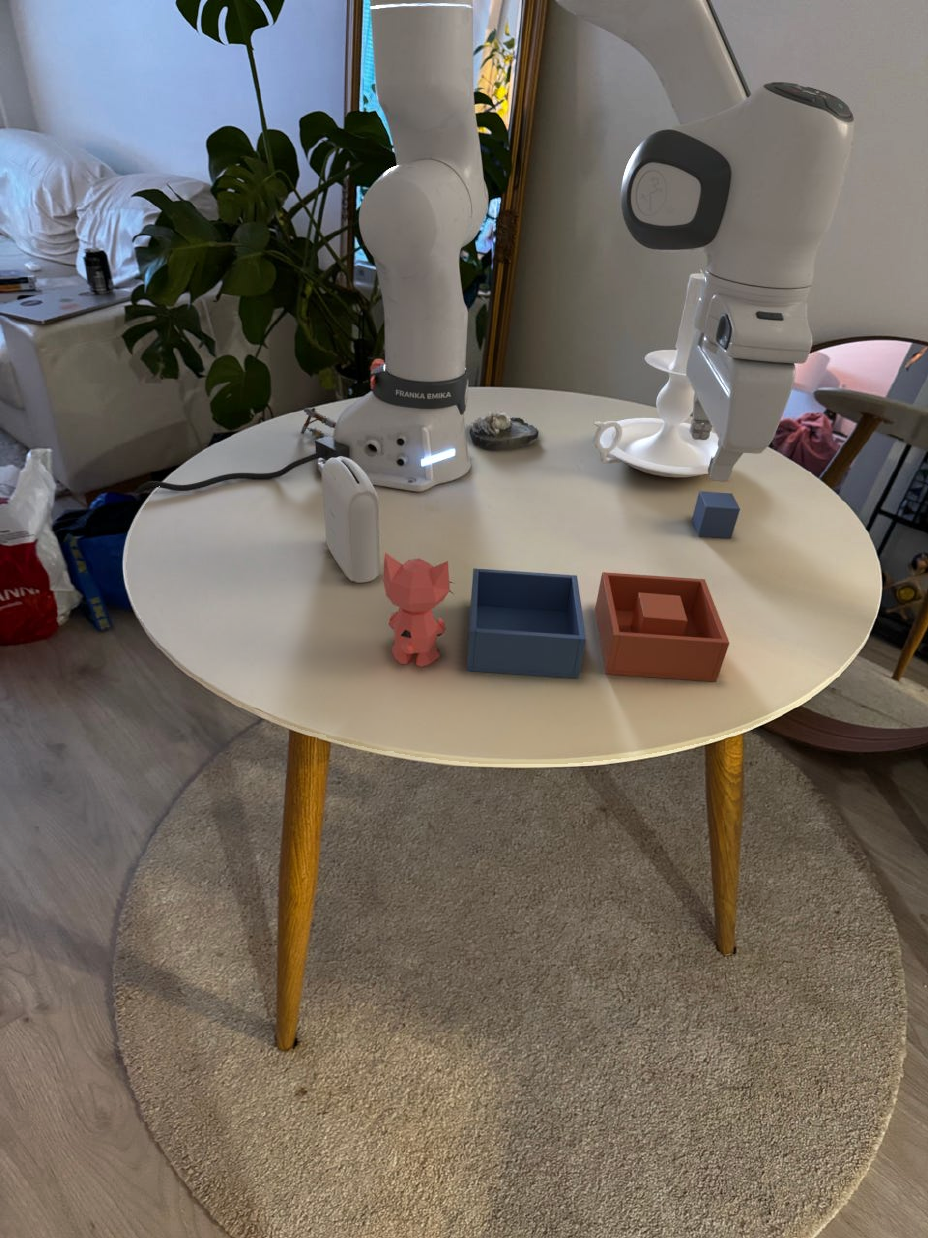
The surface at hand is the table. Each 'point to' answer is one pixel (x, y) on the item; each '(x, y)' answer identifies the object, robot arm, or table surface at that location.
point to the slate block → (715, 514)
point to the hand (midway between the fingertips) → (707, 456)
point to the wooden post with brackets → (319, 417)
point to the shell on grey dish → (502, 432)
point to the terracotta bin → (659, 653)
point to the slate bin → (525, 624)
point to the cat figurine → (415, 607)
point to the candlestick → (664, 414)
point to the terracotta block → (659, 615)
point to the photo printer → (351, 519)
